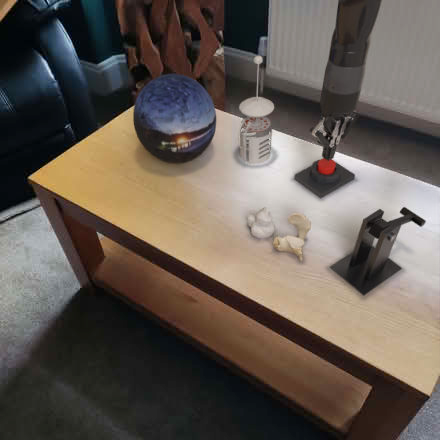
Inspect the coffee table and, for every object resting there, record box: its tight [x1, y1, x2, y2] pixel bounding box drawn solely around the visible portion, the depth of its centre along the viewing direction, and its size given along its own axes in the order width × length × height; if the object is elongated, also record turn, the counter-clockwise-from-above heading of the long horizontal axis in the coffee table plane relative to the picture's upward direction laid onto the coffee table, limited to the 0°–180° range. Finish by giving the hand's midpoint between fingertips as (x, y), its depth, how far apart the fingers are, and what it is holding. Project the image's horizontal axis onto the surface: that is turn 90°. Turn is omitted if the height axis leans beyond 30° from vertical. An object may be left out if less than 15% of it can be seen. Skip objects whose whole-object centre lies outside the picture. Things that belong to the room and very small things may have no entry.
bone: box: [272, 212, 312, 262], centre depth 88 cm, size 9×6×10 cm
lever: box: [368, 206, 427, 240], centre depth 80 cm, size 13×5×2 cm, turn 126°
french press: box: [237, 55, 275, 165], centre depth 100 cm, size 10×12×25 cm
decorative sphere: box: [132, 73, 217, 164], centre depth 104 cm, size 20×20×20 cm
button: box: [317, 157, 336, 175], centre depth 100 cm, size 4×4×2 cm
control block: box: [293, 159, 356, 200], centre depth 102 cm, size 11×9×4 cm
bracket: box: [329, 208, 403, 297], centre depth 81 cm, size 11×9×14 cm
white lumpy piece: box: [246, 206, 276, 239], centre depth 91 cm, size 5×7×8 cm
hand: (327, 157), depth 98 cm, fingers closed
